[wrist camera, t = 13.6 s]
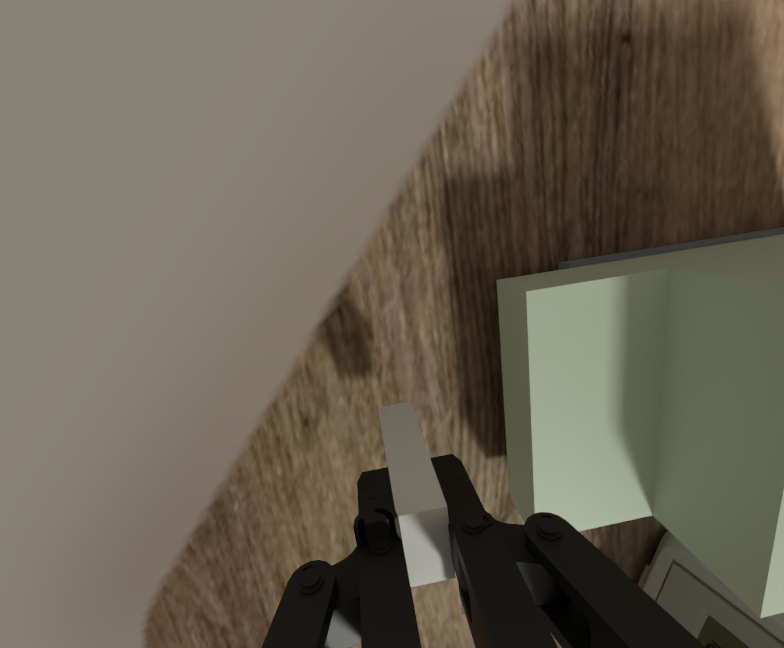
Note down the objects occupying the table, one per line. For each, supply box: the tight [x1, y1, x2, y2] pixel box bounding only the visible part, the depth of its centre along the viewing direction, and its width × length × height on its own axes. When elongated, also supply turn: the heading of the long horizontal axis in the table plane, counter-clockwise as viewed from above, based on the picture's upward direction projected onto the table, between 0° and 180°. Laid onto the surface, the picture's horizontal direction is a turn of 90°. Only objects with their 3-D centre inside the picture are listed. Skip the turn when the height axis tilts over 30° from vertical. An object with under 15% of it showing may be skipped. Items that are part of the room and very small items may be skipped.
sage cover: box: [497, 234, 784, 618], centre depth 16 cm, size 17×12×8 cm
